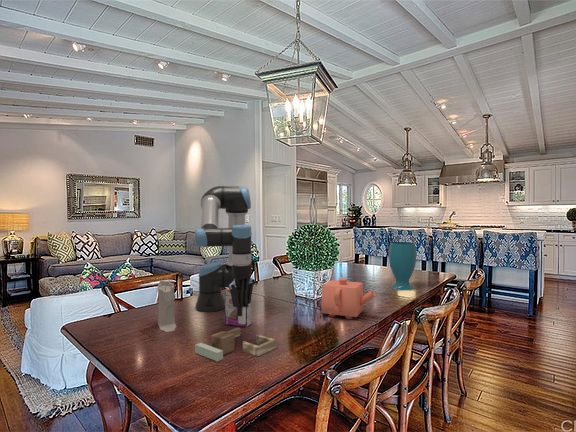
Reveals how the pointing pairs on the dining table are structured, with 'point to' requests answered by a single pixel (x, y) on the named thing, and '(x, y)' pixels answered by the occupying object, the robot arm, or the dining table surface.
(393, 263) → the vase
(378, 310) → the dining table surface
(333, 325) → the dining table surface
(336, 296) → the teapot
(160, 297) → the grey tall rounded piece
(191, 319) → the dining table surface
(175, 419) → the dining table surface
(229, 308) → the candy bar box
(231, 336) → the block
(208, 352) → the bar
